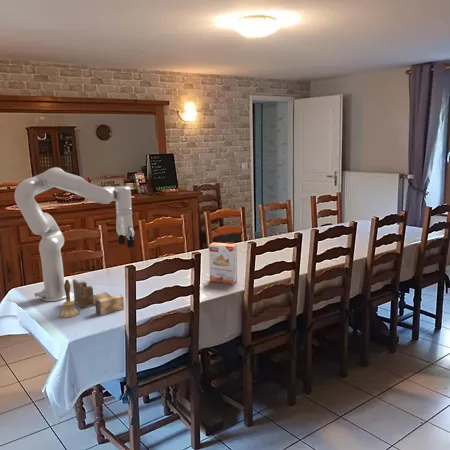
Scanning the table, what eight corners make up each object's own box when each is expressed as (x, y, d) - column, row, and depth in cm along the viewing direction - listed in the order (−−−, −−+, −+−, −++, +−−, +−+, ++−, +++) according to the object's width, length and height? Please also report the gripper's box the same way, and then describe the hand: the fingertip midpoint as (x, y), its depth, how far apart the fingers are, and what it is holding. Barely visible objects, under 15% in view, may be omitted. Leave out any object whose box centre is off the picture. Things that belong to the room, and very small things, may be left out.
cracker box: (209, 281, 246) (208, 244, 241) (213, 278, 251) (213, 241, 247) (233, 284, 240) (233, 246, 236) (237, 281, 246) (237, 243, 242)
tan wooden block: (98, 315, 202) (97, 301, 201) (96, 312, 205) (95, 299, 204) (124, 308, 209) (123, 295, 208) (121, 306, 212) (120, 293, 211)
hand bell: (62, 311, 208) (59, 277, 205) (80, 310, 209) (78, 277, 205) (57, 318, 200) (54, 283, 197) (76, 317, 201) (73, 282, 197)
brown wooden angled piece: (82, 308, 211) (80, 286, 209) (74, 300, 220) (72, 279, 218) (115, 300, 220) (113, 279, 218) (106, 293, 230) (104, 273, 227)
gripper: (109, 210, 227) (111, 243, 230) (125, 214, 213) (127, 250, 217) (123, 208, 231) (125, 241, 235) (139, 213, 218) (141, 247, 221)
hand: (126, 245), depth 226 cm, fingers open, 9 cm apart
